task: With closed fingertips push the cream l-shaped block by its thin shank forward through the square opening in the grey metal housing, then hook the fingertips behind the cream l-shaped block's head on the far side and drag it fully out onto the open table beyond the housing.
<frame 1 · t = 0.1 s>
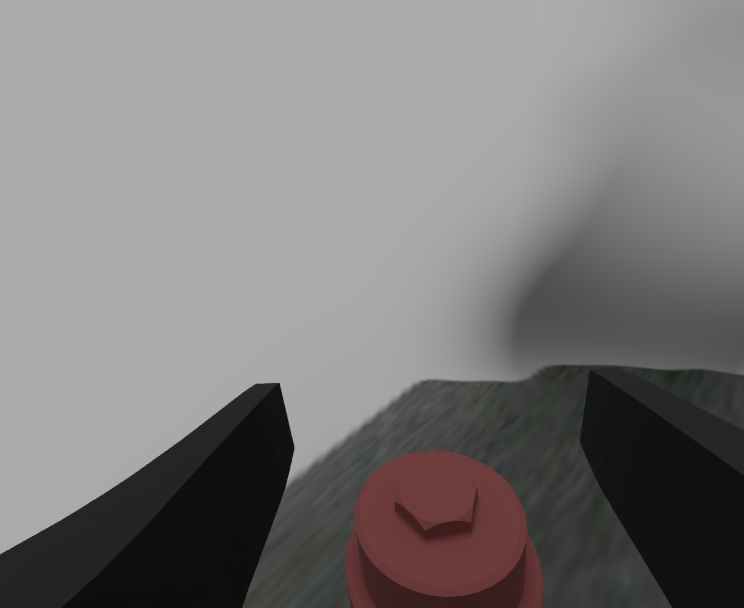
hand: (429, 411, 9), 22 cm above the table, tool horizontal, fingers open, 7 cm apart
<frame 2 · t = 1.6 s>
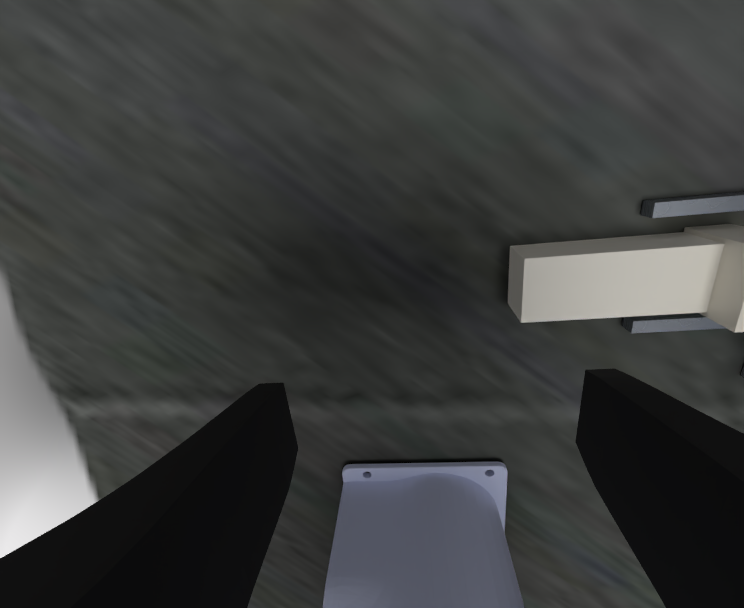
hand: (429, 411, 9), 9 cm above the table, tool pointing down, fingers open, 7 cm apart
cream l-shaped block: (599, 268, 17), on the table
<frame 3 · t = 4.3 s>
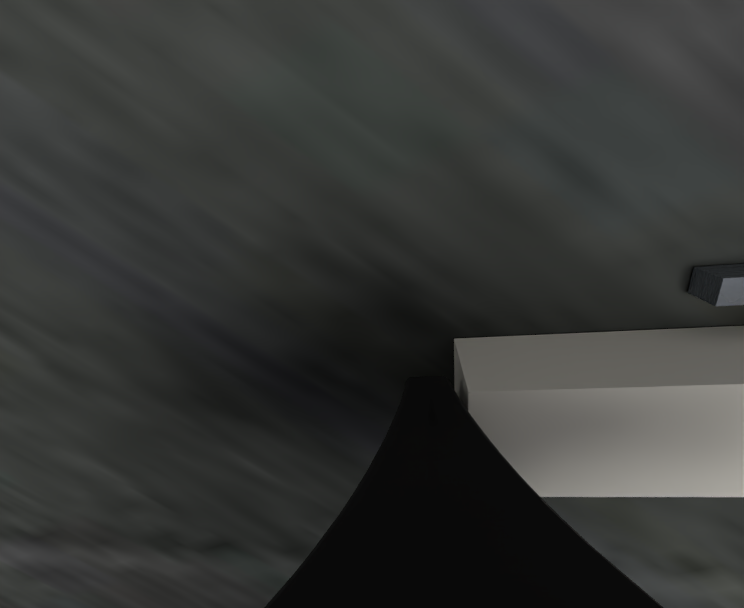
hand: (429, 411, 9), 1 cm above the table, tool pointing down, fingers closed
cream l-shaped block: (616, 380, 9), on the table, touching gripper
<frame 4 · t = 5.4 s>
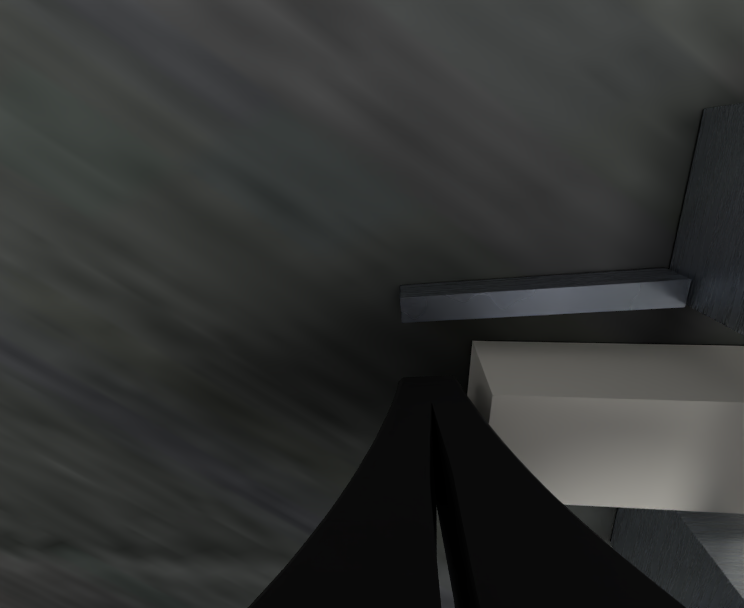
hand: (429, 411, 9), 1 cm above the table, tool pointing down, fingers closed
cream l-shaped block: (628, 392, 9), on the table, touching gripper
housing: (676, 378, 9), on the table
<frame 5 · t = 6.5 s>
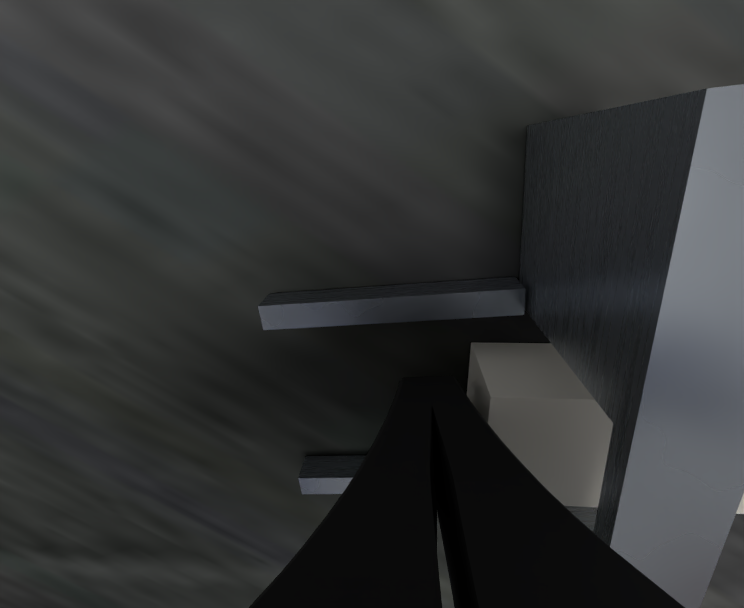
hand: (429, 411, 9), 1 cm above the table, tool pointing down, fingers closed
cream l-shaped block: (627, 393, 9), on the table, touching gripper
housing: (542, 382, 9), on the table
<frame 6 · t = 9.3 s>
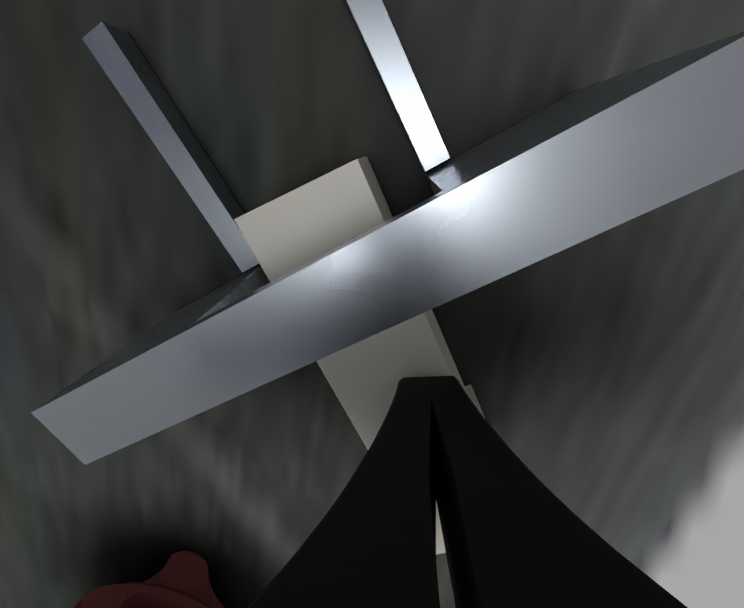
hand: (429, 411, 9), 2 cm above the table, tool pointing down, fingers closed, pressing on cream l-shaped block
mechanical component: (183, 588, 17), on the table
cream l-shaped block: (380, 314, 11), on the table, touching gripper
housing: (357, 241, 10), on the table
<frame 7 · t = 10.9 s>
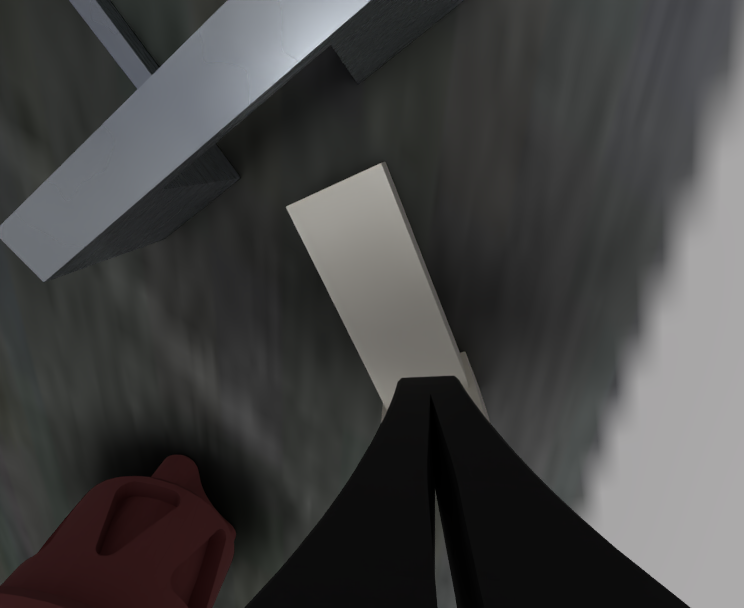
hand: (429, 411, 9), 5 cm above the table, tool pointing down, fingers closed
mechanical component: (181, 498, 18), on the table
cream l-shaped block: (392, 290, 13), on the table
housing: (281, 112, 11), on the table
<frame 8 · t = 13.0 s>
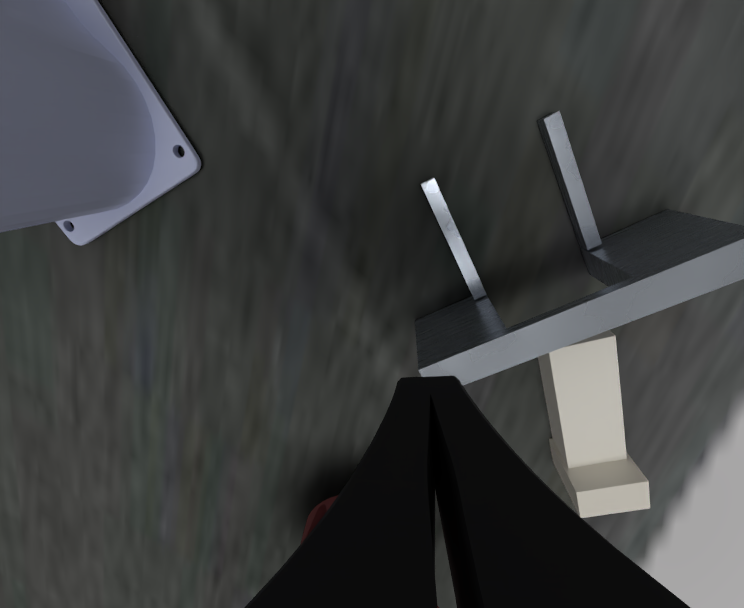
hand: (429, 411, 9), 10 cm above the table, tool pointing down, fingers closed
mechanical component: (364, 507, 24), on the table
cream l-shaped block: (571, 387, 20), on the table
housing: (535, 282, 17), on the table
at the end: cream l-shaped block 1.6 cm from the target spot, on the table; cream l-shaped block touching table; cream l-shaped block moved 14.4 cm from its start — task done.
